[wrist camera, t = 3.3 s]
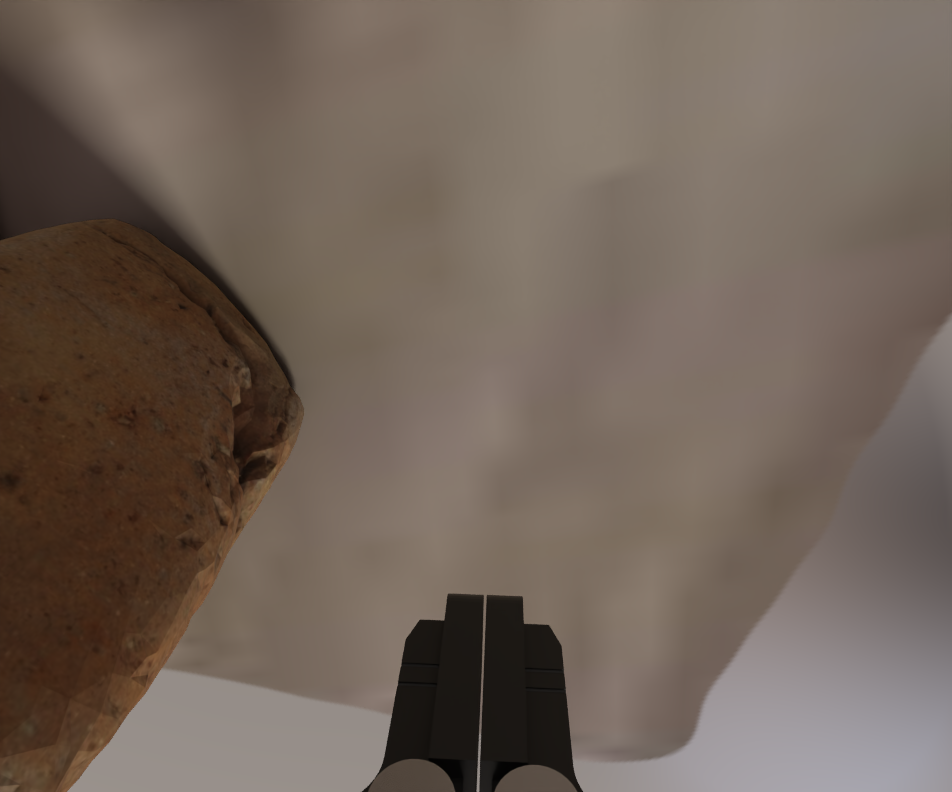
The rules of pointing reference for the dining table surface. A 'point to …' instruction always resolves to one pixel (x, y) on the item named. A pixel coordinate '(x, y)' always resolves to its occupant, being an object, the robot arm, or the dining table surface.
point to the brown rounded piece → (115, 477)
